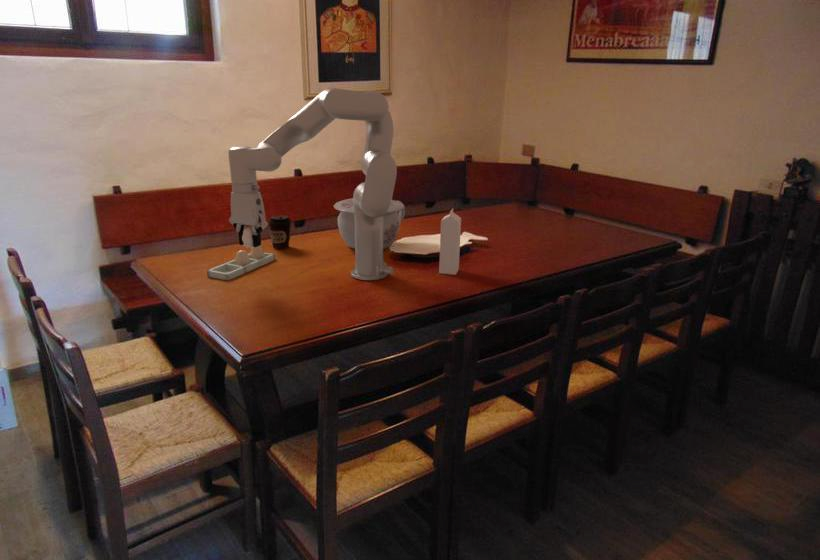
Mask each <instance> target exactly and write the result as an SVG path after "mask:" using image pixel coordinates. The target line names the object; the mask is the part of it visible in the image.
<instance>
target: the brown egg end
mask: <svg viewBox="0 0 820 560" xmlns="http://www.w3.org/2000/svg"><path fill="white" fill-rule="evenodd" d="M250 249H251V250H250V252H249V253H250V256H251V258H252V259H257V260H259V259H262V258H263V257H264V252H265V251H264V249H263V246H262V245H260V246H258V247H253V248H250Z"/></svg>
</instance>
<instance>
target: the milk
mask: <svg viewBox="0 0 820 560" xmlns="http://www.w3.org/2000/svg"><path fill="white" fill-rule="evenodd" d="M461 228H462V217H460V215H458V214H456V213H455V212H454V208H452V209H451V210H450V211H449V214H447V215H445V216H444V217H442V219H441V220H440V238H439V243H440V244H439V264H438V265H439V268H438V273H439V274H443V275H451V276H452V275H454V276H456V275H457V274H458V271H459V269H460V253H461V251H460V249H461V231H462V229H461Z"/></svg>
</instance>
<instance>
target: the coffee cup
mask: <svg viewBox="0 0 820 560" xmlns="http://www.w3.org/2000/svg"><path fill="white" fill-rule="evenodd" d="M291 225H292V219H291V218H290V216H288V215H284V214H283V215H271V216H270V217H269V220H268V226H269V233H270V239H271V240H270V241H271V244H272V248H273V249H274V250H279V251H280V250H287V249H289V248H290V239H291V233H292V232H291V231H292V230H291Z"/></svg>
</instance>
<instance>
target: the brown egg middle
mask: <svg viewBox="0 0 820 560" xmlns="http://www.w3.org/2000/svg"><path fill="white" fill-rule="evenodd" d="M248 254H249V253H248V252H247V251H246V250H244V249H241V250H238V251H237V252H236V254H235V255H236V256H235V263H236V264H237V265H239V266H245V265H247V264H249V261H250V260H249V257H248Z"/></svg>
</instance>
